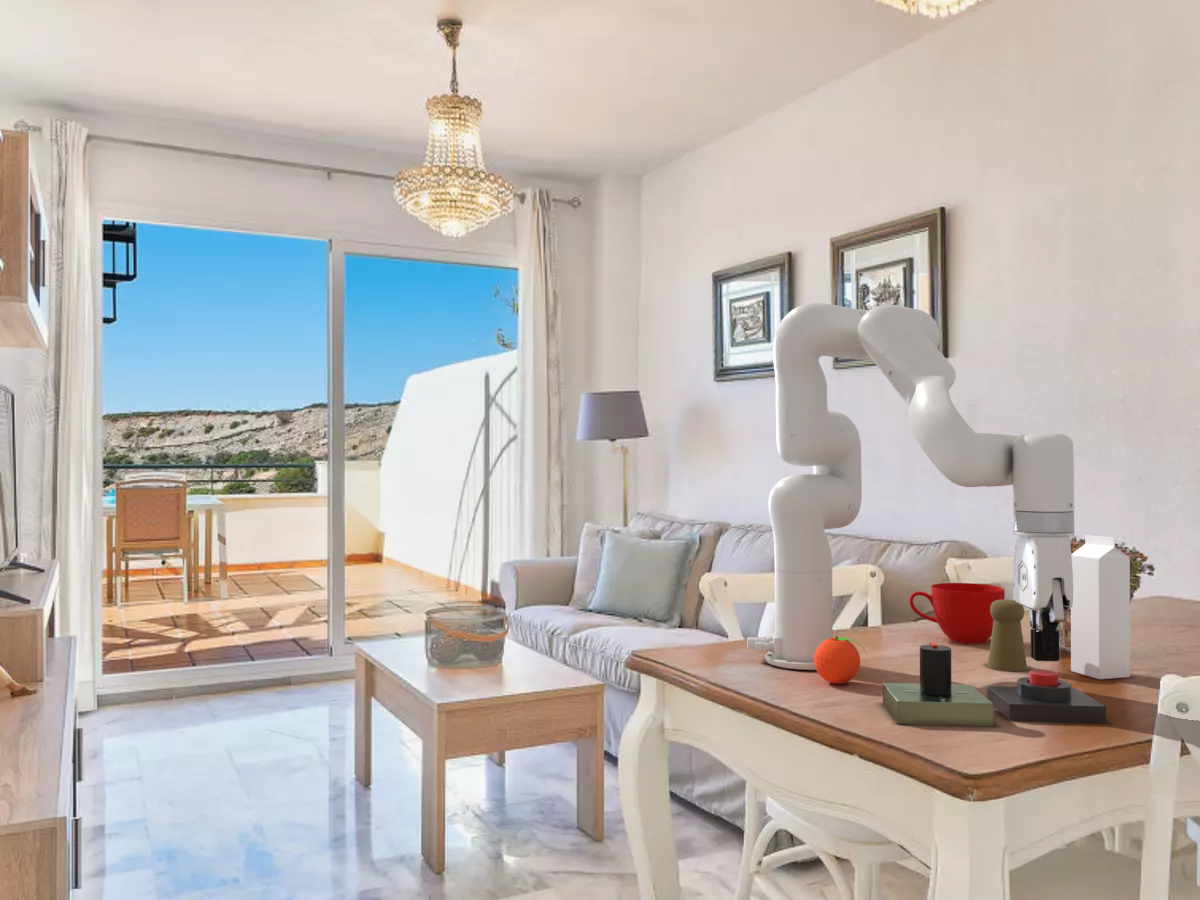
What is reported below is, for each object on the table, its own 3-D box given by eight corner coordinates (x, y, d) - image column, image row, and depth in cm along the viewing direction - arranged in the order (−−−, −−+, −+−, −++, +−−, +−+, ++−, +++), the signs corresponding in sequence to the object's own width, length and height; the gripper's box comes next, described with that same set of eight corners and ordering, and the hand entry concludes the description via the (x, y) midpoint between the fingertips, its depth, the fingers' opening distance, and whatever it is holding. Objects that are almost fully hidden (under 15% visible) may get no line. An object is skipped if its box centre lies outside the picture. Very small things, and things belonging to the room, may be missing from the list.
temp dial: (954, 696, 126) (954, 648, 126) (923, 695, 126) (923, 647, 126) (947, 688, 130) (947, 642, 130) (916, 688, 130) (916, 642, 130)
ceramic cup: (908, 631, 189) (907, 581, 189) (1000, 635, 184) (999, 584, 184) (910, 644, 176) (910, 590, 176) (1009, 649, 172) (1009, 593, 172)
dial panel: (897, 724, 124) (897, 699, 124) (882, 704, 134) (882, 681, 134) (993, 726, 122) (993, 702, 122) (971, 706, 132) (971, 683, 132)
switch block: (1010, 720, 125) (1010, 690, 125) (986, 701, 135) (986, 673, 135) (1105, 723, 124) (1105, 692, 124) (1075, 703, 134) (1075, 674, 134)
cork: (1031, 671, 153) (1031, 603, 153) (991, 670, 155) (991, 602, 155) (1022, 663, 159) (1022, 598, 159) (984, 662, 161) (983, 596, 161)
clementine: (859, 677, 149) (859, 632, 149) (873, 688, 142) (873, 641, 143) (808, 678, 149) (808, 632, 149) (820, 688, 142) (820, 641, 142)
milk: (1099, 680, 148) (1098, 538, 148) (1070, 671, 154) (1069, 534, 154) (1131, 677, 150) (1130, 536, 150) (1100, 668, 156) (1100, 533, 156)
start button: (1034, 688, 128) (1034, 675, 128) (1025, 682, 131) (1025, 669, 131) (1062, 688, 128) (1062, 675, 128) (1052, 682, 131) (1052, 669, 131)
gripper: (997, 521, 137) (998, 648, 137) (1034, 528, 123) (1035, 671, 122) (1051, 521, 137) (1053, 649, 136) (1095, 528, 122) (1097, 672, 122)
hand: (1045, 659), depth 129 cm, fingers closed
